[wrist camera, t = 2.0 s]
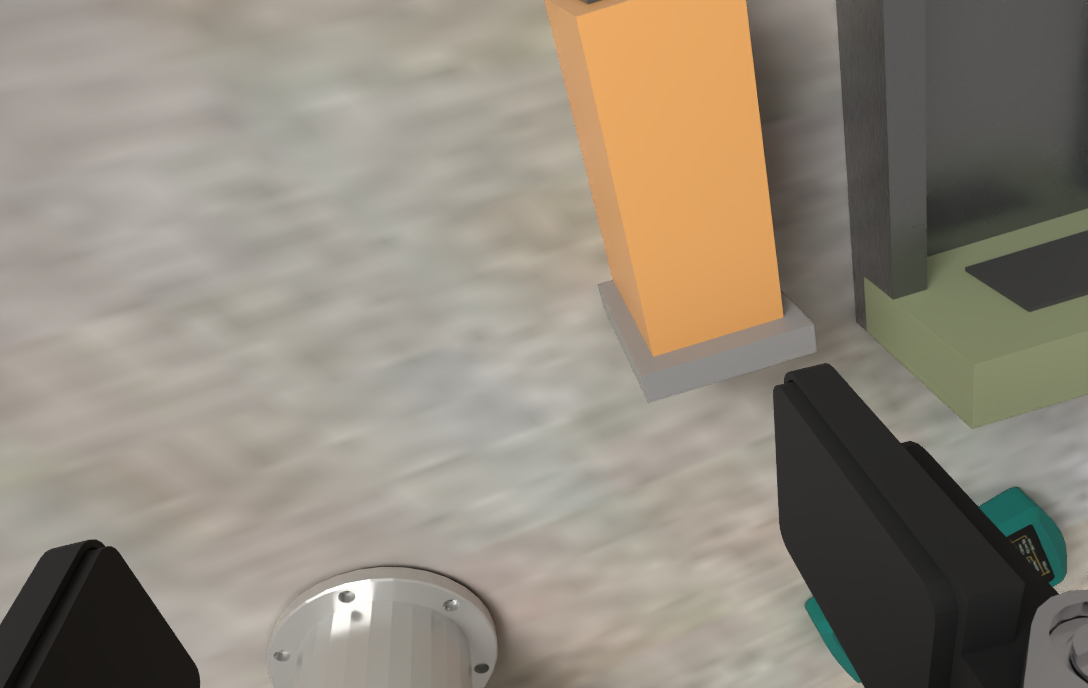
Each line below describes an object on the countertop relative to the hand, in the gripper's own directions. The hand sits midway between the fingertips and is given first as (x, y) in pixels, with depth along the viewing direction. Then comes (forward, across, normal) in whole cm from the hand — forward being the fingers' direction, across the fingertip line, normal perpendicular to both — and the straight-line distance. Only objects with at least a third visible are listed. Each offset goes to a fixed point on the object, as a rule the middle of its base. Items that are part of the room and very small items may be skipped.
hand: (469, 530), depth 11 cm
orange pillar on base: (+22, -8, +2) cm, 24 cm away
